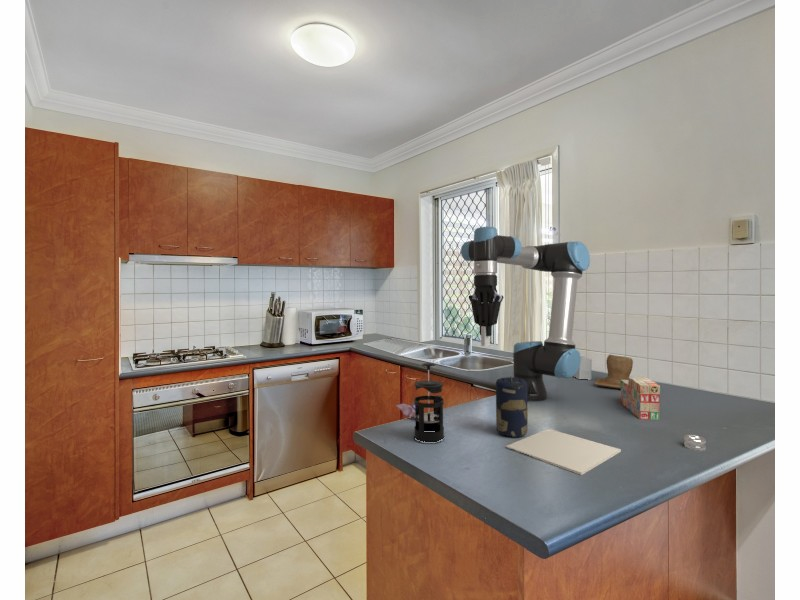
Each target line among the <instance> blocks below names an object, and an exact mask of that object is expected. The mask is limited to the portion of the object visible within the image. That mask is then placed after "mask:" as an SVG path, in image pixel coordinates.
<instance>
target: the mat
mask: <svg viewBox="0 0 800 600" xmlns="http://www.w3.org/2000/svg"><path fill="white" fill-rule="evenodd" d="M506 447H508V448H511V449H514V450H516V451H519V452H521V453H524V454H527V455H529V456H528V457H530V456H532V457H534V458H533V459H535V458H537V459H536V460H538V459H540V460H539V461H541V460H542V462H544V461H545V462H544V463H546V462H547V464H549V463H550V464H549V465H552V464H553V466H555V467H557V466H558V468H561V469H564V470H567V471H569V472H571V473H575V474H577V475H580V476H583V475H584V474H587V473H588V472H589V471H590V470H591V471H592V470H593V469H594V468H596V467H597V466H599V465H601V464H603V463H604V462H606V461H608V460H610V459H611V458H612V457H614V456H616V455H618V454H619V453H621V451H622V449H620V448H619V447H613V446H611V445H606V444H603V443H600V442H595V441H593V440H589V439H586V438H582V437H579V436H575V435H572V434H569V433H565V432H561V431H559V430H555V429H551V428H547V429H544V430H542V431H539V432H537V433H535V434H532V435H529V436H527V437H524V438H522V439H519V440H518V441H515V442H512V443H510V444H507V445H505V448H506ZM516 451H515V452H516ZM519 452H518V453H519ZM521 453H520V454H521ZM524 454H523V455H524ZM527 455H526V456H527ZM532 457H531V458H532Z"/></svg>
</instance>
